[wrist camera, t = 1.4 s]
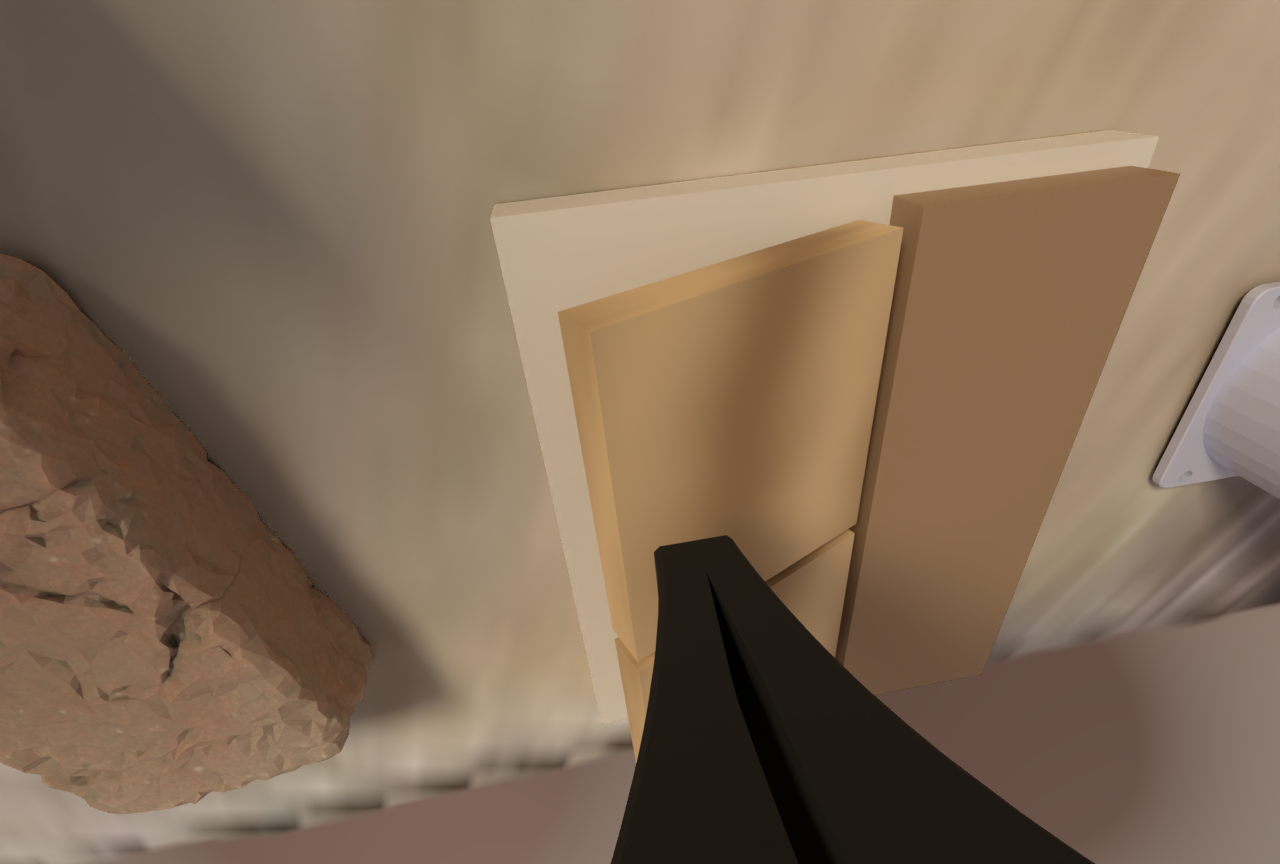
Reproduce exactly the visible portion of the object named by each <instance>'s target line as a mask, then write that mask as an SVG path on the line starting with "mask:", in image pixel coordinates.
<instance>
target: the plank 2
mask: <svg viewBox="0 0 1280 864" xmlns="http://www.w3.org/2000/svg"><path fill="white" fill-rule="evenodd" d="M854 535H855V533H853V532H852V531H850V530H849V529H847V530H846V531H844V532H843V533H841V534H839V535H838V536H836V537H835V538H833V539H831V540H830V541H828V542H827V543H825V544H824V545H822V546H820V547H819V548H817V549H816V550H814V551H813V552H811V553H809V554H808V555H806V556H805V557H803V558H801V559H800V560H798V561H797V562H795V563H794V564H792V565H790V566H789V567H787V568H786V569H784V570H783V571H781V572H779V573H778V574H776V575H775V576H773V577H772V578H770V579H768V580H767V581H765V582H766V583H767V585H768V586H769V587H770V588H771V589H772V591H773V592H774V593H775V594H776V595H777V596H778V598H779V599H780V600H781V601H782V602H783V603H784V605H785V606H786V607H787V608H788V609H789V610H790V611H791V612H792V613H793V614H794V615H795V617H796V618H797V619H798V620H799V621H800V622H801V623H802V624H803V625H804V626H805V628H806V629H807V630H808V631H809V632H810V633H811V634H812V635H813V636H814V637H815V638H816V639H817V640H818V641H819V642H820V643H821V644H822V645H823V646H824V647H825V649H826V650H827V651H828V652H829V653H830V654H831V655H833V656H834V657H835V654H836V648H837V642H838V635H839V629H840V623H841V617H842V610H843V604H844V598H845V592H846V585H847V579H848V573H849V567H850V560H851V554H852V548H853V542H854ZM615 645H616V650H617V656H618V662H619V668H620V673H621V679H622V685H623V690H624V696H625V702H626V708H627V713H628V719H629V725H630V731H631V736H632V742H633V748H634V754H635V759H636V763H637V758H638V753H639V749H640V744H641V739H642V734H643V729H644V723H645V718H646V712H647V707H648V700H649V693H650V686H651V679H652V673H653V666H654V658H655V652H653V653H652V654H650V655H648V656H647V657H645V658H644V659H642V660H641V661H639V662H637V661H636V659H635V658H634V657H633V655H632V654H631V653H630V651H629V650H628V649H627V648H626V646H625V645H624V644H623V642H622V641H621V640H620V638H619V637H618V638H616V639H615Z"/></svg>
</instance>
